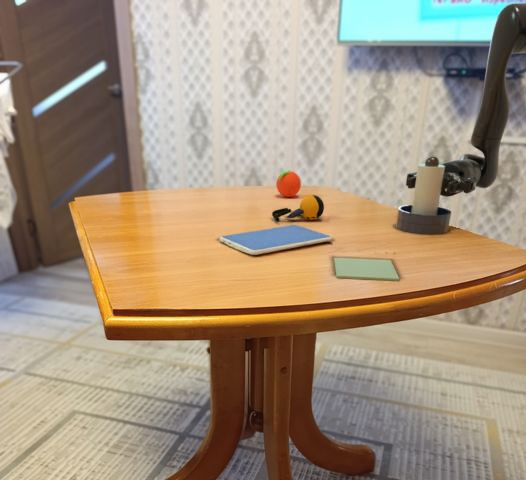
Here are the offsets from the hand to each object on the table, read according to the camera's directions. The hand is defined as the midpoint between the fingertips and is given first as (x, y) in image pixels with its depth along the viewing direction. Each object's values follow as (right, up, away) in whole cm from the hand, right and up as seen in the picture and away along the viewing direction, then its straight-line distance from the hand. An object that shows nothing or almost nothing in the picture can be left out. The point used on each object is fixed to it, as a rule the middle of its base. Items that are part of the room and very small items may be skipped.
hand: (429, 185), depth 108 cm
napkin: (-18, -21, -22) cm, 35 cm away
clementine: (-28, +8, +36) cm, 47 cm away
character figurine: (-27, -4, +11) cm, 29 cm away
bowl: (0, -9, +4) cm, 10 cm away
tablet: (-33, -14, -7) cm, 36 cm away
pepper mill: (0, -8, +4) cm, 9 cm away
